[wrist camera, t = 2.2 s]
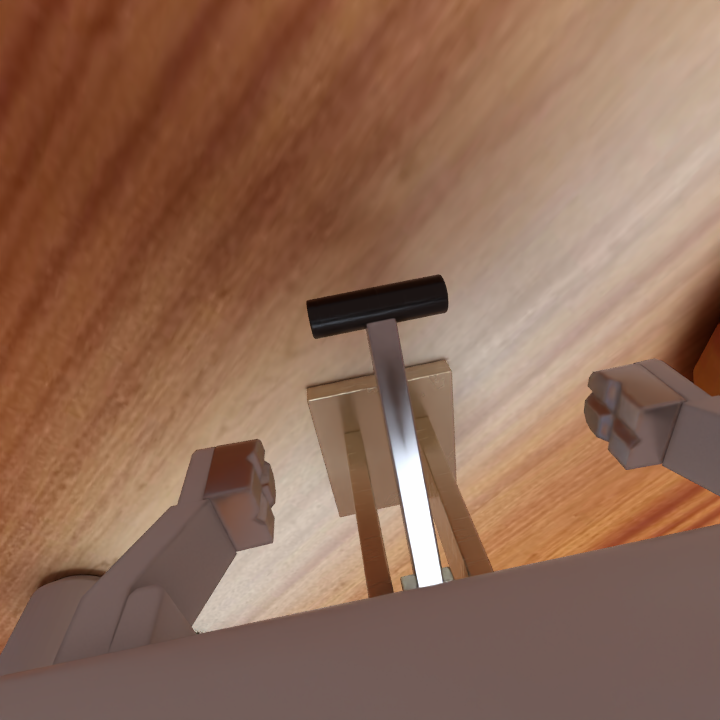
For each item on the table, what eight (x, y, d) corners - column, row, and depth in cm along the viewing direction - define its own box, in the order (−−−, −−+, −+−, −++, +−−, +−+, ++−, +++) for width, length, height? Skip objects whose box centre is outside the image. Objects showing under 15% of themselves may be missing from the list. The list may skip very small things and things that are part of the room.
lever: (308, 300, 17) (304, 299, 14) (432, 276, 17) (447, 271, 15) (380, 640, 19) (386, 688, 16) (490, 615, 19) (512, 660, 17)
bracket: (306, 387, 24) (318, 627, 13) (445, 359, 24) (568, 572, 13) (338, 503, 29) (365, 740, 19) (451, 478, 30) (542, 698, 19)
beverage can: (151, 603, 32) (87, 833, 22) (74, 627, 33) (-23, 865, 23) (98, 558, 29) (-6, 806, 19) (12, 586, 29) (-133, 844, 19)
